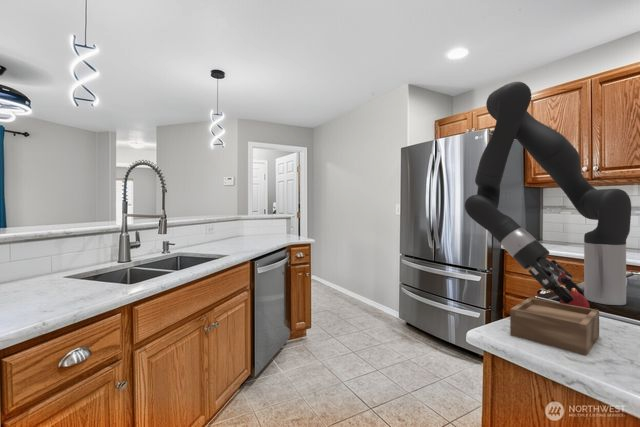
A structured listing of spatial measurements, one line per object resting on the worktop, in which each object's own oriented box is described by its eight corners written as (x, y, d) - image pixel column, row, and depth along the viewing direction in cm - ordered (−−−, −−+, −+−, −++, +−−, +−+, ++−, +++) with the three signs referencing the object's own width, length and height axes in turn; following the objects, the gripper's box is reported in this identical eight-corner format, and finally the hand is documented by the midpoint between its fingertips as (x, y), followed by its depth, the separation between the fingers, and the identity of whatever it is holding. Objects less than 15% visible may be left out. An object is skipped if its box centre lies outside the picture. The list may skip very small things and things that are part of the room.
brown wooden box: (529, 322, 78) (529, 297, 78) (599, 338, 68) (599, 310, 68) (510, 336, 69) (510, 308, 69) (586, 357, 59) (586, 325, 59)
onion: (595, 325, 74) (595, 291, 74) (568, 323, 75) (568, 290, 75) (580, 316, 80) (580, 285, 80) (555, 315, 81) (555, 285, 81)
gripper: (524, 241, 80) (581, 295, 71) (544, 237, 88) (597, 285, 79) (502, 259, 84) (553, 312, 75) (523, 254, 93) (571, 301, 84)
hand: (576, 298), depth 77 cm, fingers open, 8 cm apart
